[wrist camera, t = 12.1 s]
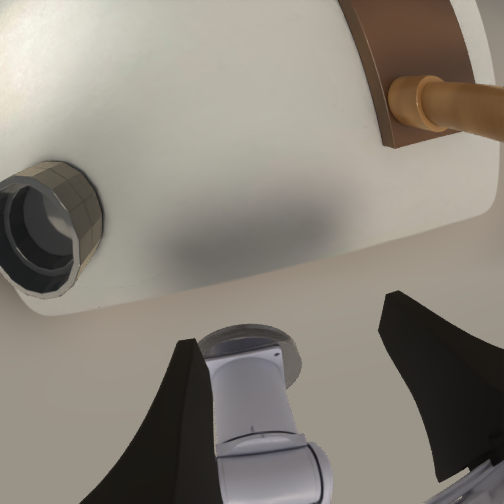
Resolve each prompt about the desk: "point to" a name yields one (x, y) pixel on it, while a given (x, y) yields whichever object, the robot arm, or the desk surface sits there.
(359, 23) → the walnut board
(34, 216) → the mortar
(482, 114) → the pestle
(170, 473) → the robot arm
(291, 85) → the desk surface
